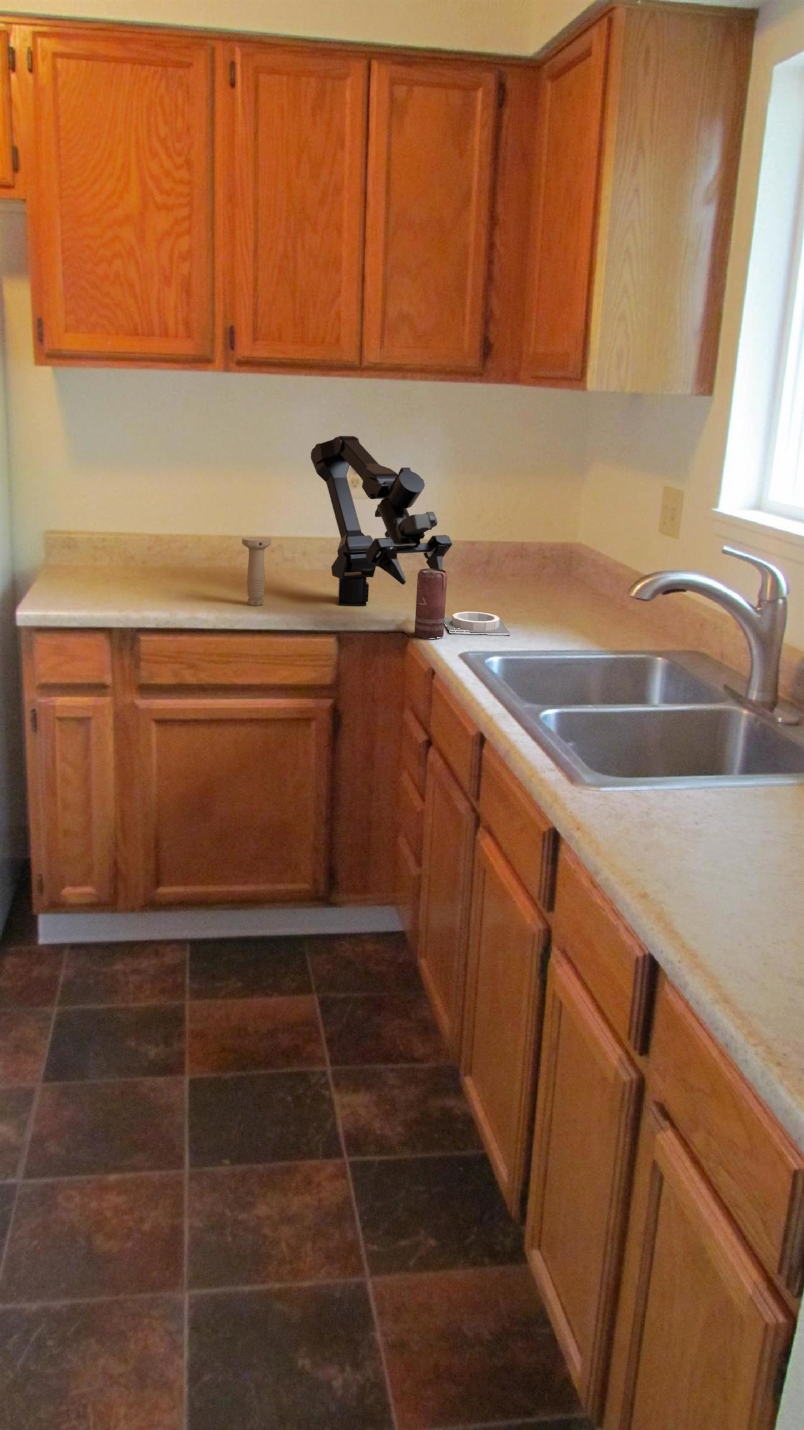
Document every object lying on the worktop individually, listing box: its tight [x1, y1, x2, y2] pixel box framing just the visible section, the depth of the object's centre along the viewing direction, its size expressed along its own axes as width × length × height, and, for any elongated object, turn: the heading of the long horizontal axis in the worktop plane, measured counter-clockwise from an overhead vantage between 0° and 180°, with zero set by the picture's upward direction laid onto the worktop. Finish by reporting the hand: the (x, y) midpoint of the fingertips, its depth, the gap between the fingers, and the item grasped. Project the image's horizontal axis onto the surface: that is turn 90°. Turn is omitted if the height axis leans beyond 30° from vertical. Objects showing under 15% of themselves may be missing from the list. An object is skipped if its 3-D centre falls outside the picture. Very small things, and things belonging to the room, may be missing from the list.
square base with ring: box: [444, 611, 510, 633], centre depth 262 cm, size 13×13×2 cm
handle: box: [241, 536, 272, 607], centre depth 271 cm, size 5×6×15 cm
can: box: [414, 567, 448, 640], centre depth 251 cm, size 6×6×14 cm
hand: (422, 582), depth 253 cm, fingers open, 9 cm apart
